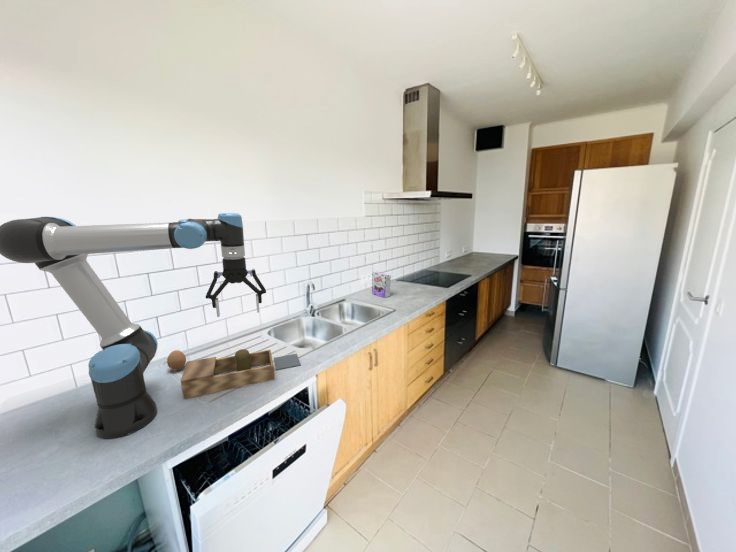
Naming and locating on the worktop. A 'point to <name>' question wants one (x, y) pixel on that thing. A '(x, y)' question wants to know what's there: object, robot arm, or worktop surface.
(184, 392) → the crate
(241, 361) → the cork
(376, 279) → the candy box
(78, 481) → the worktop surface
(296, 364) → the slate mat
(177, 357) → the egg
